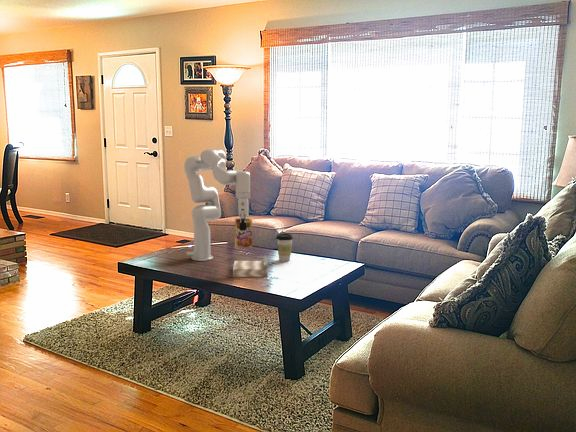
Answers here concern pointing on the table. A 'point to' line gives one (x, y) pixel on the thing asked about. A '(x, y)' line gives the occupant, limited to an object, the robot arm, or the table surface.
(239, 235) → the candy box
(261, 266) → the low shelf
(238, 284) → the table surface
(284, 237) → the coffee cup
